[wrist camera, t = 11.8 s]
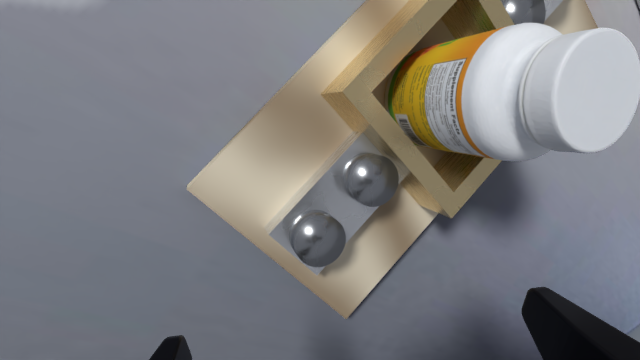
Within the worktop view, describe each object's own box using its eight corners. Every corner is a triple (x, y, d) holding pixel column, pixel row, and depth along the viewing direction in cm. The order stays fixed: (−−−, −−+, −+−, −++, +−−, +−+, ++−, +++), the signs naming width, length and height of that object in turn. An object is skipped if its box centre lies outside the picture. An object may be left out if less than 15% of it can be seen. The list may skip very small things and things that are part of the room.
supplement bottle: (468, 55, 21) (673, 17, 12) (455, 147, 22) (637, 175, 13) (386, 42, 19) (556, -15, 10) (376, 143, 20) (523, 172, 11)
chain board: (339, 310, 23) (346, 319, 22) (187, 185, 18) (186, 189, 17) (583, 32, 25) (598, 29, 24) (498, -137, 21) (513, -149, 20)
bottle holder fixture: (341, 292, 21) (363, 320, 18) (224, 194, 18) (230, 209, 15) (580, 21, 23) (632, 9, 21) (514, -111, 20) (566, -146, 17)
